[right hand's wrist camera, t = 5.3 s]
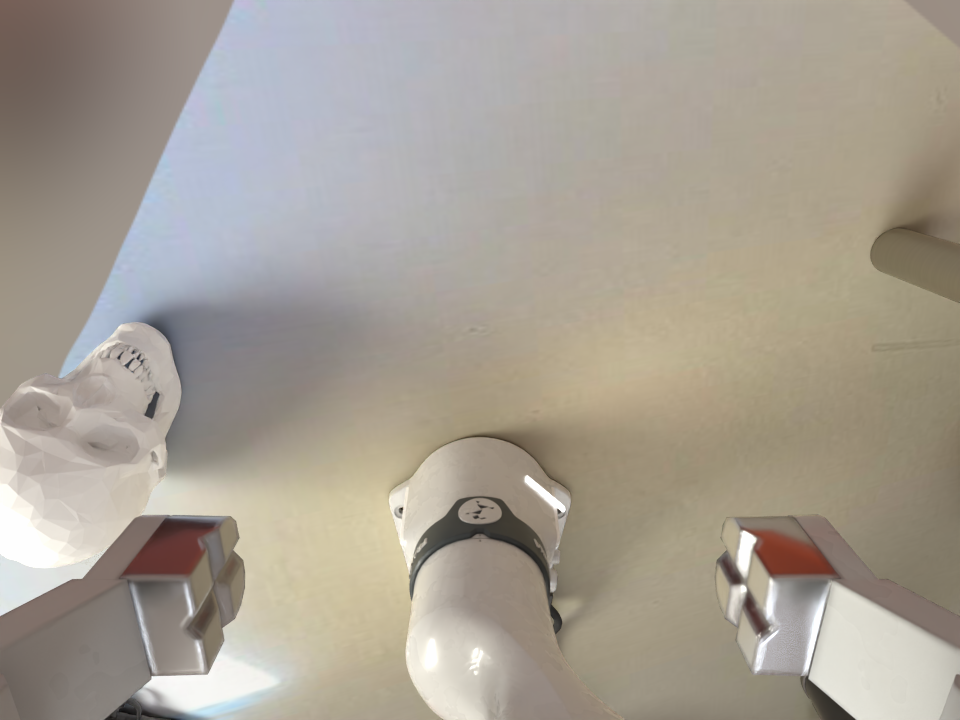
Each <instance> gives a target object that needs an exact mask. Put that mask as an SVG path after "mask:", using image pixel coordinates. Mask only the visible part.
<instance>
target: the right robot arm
mask: <svg viewBox="0 0 960 720" xmlns="http://www.w3.org/2000/svg"><path fill="white" fill-rule="evenodd" d="M389 506H390V509H391V512H392V516H393V519H394V523H395V526H396V530H397V533H398V536H399V540H400V544H401V547H402V550H403V553H404V557H405V560H406V564H407V567H408V570H409V574H410V575H409V579H410V596H411V600H412V607H411V614H410V621H409V629H408V636H407V644H406V663H407V668H408V671H409V675H410V677H411V680H412V682H413V684H414V685H415V687H416V689H417V690H418V692H419V694H420V695H421V696H422V698H423V699H424V701H425V702H426V703H427V705H428V706H429V707H430V708H431V709H432V710H433V711H434V712H435V713H436V714H437V715H439V716H440V717H441V718H443V719H444V720H625V719H624V718H623V717H621V716H620V715H618V714H617V713H616V712H614V711H613V710H612V709H610V708H609V707H608V706H607V705H606V704H604V703H603V702H602V701H601V700H600V699H599V698H598V697H597V696H596V695H595V694H593V693H592V692H591V691H590V690H589V689H588V688H587V687H586V685H585V684H584V683H583V682H582V681H581V680H580V679H579V678H578V677H577V675H576V674H575V673H574V671H573V670H572V669H571V668H570V666H569V665H568V663H567V662H566V660H565V659H564V657H563V655H562V653H561V651H560V649H559V646H558V643H557V640H556V636H555V635H556V633H557V632H558V631H559V630H560V629H561V626H562V619H561V617H560V615H559V613H558V612H557V611H556V609H555V608H554V607H553V606H552V605H551V603H552V599H553V592H555V590H556V586H557V570H555V569H553V568H552V567H553V564H559V561H560V551H559V550H558V547H559V544H560V540H561V536H562V533H563V530H564V526H565V523H566V519H567V516H568V513H569V509H570V506H571V494H570V492H569V491H568V490H567V489H566V488H565V487H564V486H562V485H561V484H559V483H557V482H555V481H554V480H552V479H550V478H549V477H548V476H547V475H546V474H545V472H544V471H543V470H542V468H541V467H540V465H539V464H538V463H537V462H536V460H535V459H534V458H533V457H532V456H530V455H529V454H528V453H527V452H525V451H524V450H523V449H521V448H519V447H518V446H516V445H514V444H511V443H509V442H506V441H503V440H499V439H495V438H487V437H473V438H465V439H461V440H457V441H454V442H451V443H449V444H446V445H444V446H442V447H441V448H439V449H437V450H436V451H435V452H433V453H432V454H431V455H430V456H428V457H427V458H426V459H425V461H424V462H423V463H422V464H421V466H420V467H419V468H418V470H417V471H416V472H415V474H414V475H413V476H412V477H411V478H410V479H408V480H406V481H405V482H403V483H401V484H399V485H398V486H396V487H395V488H394V489H393V490H392V491H391V492H390V494H389ZM401 507H403V510H401V509H400V508H401ZM557 508H558V509H559V510H557ZM238 540H239V533H238V528H237V524H236V521H235V520H234V519H233V518H232V517H231V516H192V515H172V516H170V515H141V516H138V517H135V518H134V519H133V520H132V521H131V523H130V524H129V525H128V526H127V527H126V528H125V530H124V531H123V532H122V533H121V534H120V535H119V537H118V538H117V539H116V540H115V541H114V542H113V544H112V545H111V546H110V547H109V548H108V549H107V551H106V552H105V553H104V554H103V555H102V556H101V558H100V559H99V560H98V561H97V562H96V563H95V565H94V566H93V567H92V568H91V569H90V570H89V572H88V573H87V574H86V575H85V576H84V577H83V579H72V580H70V581H68V582H66V583H64V584H62V585H60V586H58V587H56V588H54V589H52V590H50V591H48V592H46V593H44V594H43V595H41V596H39V597H37V598H35V599H33V600H31V601H29V602H27V603H25V604H23V605H21V606H19V607H17V608H15V609H13V610H11V611H9V612H8V613H6V614H4V615H2V616H0V720H104V719H105V718H106V717H108V716H109V715H110V714H111V713H112V712H114V711H115V710H116V709H117V708H118V707H119V706H121V705H122V704H123V703H124V702H125V701H126V700H128V699H129V698H130V697H131V696H132V695H133V694H135V693H136V692H137V691H138V690H139V689H140V688H142V687H143V686H144V685H145V684H146V683H148V682H149V681H150V680H151V676H171V675H205V674H208V673H209V671H210V669H211V667H212V665H213V663H214V661H215V659H216V657H217V654H218V652H219V650H220V648H221V646H222V644H223V642H224V635H223V630H222V628H223V627H224V626H226V625H227V624H228V623H230V622H231V621H232V620H234V619H235V617H236V615H237V613H238V611H239V608H240V606H241V603H242V598H243V594H244V589H245V569H244V563H243V560H242V559H241V558H240V557H239V556H238V555H237V554H236V553H235V552H234V551H233V549H234V547H235V545H236V543H237V541H238ZM721 540H722V541H723V543H724V545H725V547H726V549H727V551H726V552H725V553H724V554H723V555H722V556H721V557H720V558H719V559H718V560H717V563H716V571H715V587H716V595H717V599H718V603H719V606H720V609H721V611H722V613H723V615H724V617H725V619H726V620H728V621H729V622H730V623H732V624H733V625H734V626H736V627H737V628H738V630H737V635H736V642H737V644H738V646H739V648H740V650H741V652H742V654H743V656H744V658H745V661H746V663H747V665H748V667H749V669H750V671H751V673H752V674H753V675H788V676H809V678H808V679H809V680H810V681H812V682H813V683H814V684H815V685H816V686H817V687H819V688H820V689H821V690H822V691H823V692H824V693H826V694H827V695H828V696H829V697H830V698H831V699H833V700H834V701H835V702H836V703H837V704H839V705H840V706H841V707H842V708H843V709H844V710H846V711H847V712H848V713H849V714H850V715H851V716H853V717H854V718H855V719H856V720H960V616H958V615H956V614H954V613H952V612H950V611H948V610H946V609H945V608H943V607H941V606H939V605H937V604H935V603H933V602H931V601H929V600H927V599H925V598H923V597H921V596H919V595H917V594H915V593H914V592H912V591H910V590H908V589H906V588H904V587H902V586H900V585H898V584H896V583H894V582H892V581H890V580H888V579H877V577H876V576H875V575H874V574H873V573H872V572H871V570H870V569H869V568H868V567H867V566H866V565H865V563H864V562H863V561H862V560H861V559H860V558H859V556H858V555H857V554H856V553H855V552H854V551H853V549H852V548H851V547H850V546H849V545H848V544H847V542H846V541H845V540H844V539H843V538H842V537H841V535H840V534H839V533H838V532H837V531H836V530H835V528H834V527H833V526H832V525H831V524H830V523H829V521H828V520H827V519H826V518H824V517H822V516H820V515H789V516H771V517H727V518H726V520H725V522H724V524H723V527H722V533H721ZM551 617H552V618H553V619H554V625H553V624H552V620H551Z"/></svg>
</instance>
